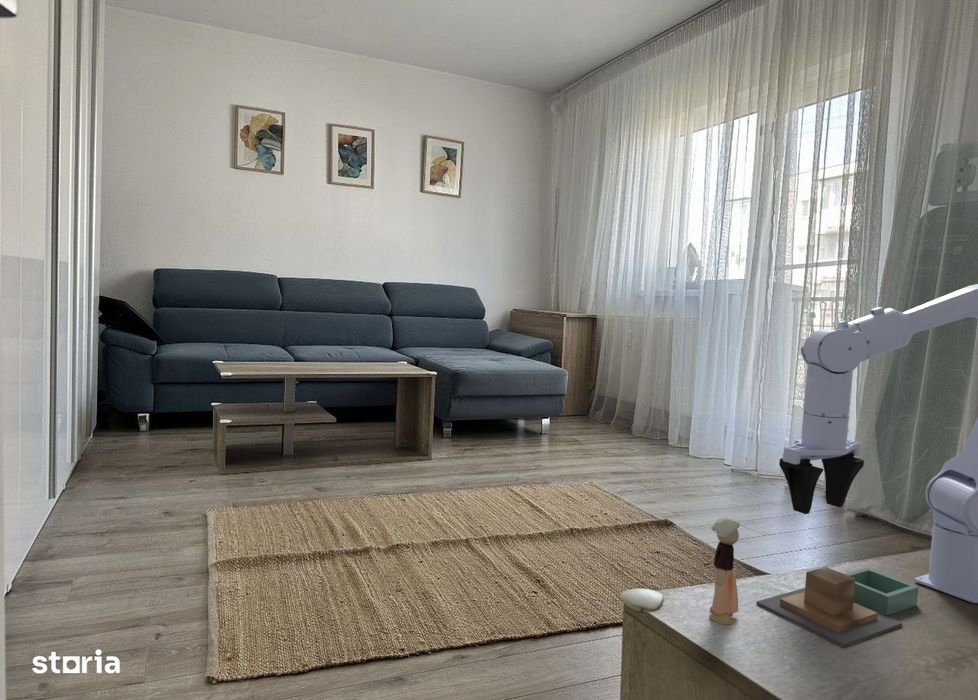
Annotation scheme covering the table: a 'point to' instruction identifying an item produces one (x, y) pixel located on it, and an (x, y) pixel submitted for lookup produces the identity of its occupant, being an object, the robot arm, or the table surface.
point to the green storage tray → (882, 592)
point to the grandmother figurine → (725, 571)
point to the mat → (838, 638)
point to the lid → (829, 601)
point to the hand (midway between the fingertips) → (818, 508)
